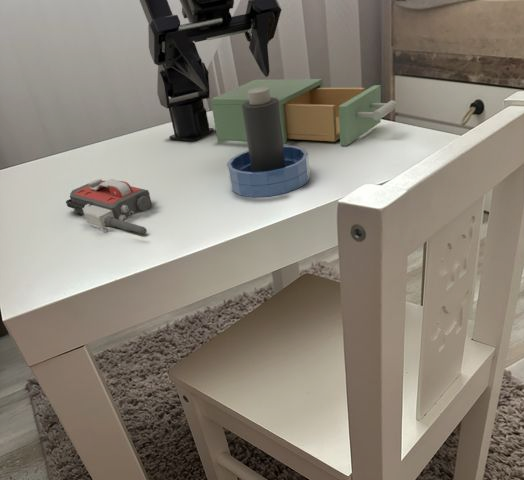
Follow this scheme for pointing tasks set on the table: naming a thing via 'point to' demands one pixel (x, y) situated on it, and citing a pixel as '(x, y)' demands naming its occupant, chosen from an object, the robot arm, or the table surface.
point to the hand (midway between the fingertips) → (237, 81)
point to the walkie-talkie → (110, 203)
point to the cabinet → (230, 103)
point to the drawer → (335, 113)
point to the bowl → (269, 174)
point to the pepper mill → (263, 131)
